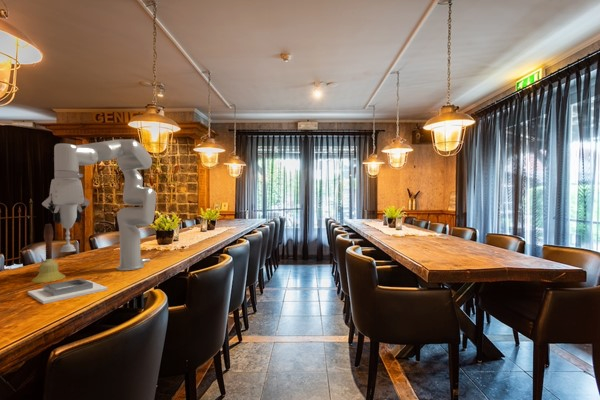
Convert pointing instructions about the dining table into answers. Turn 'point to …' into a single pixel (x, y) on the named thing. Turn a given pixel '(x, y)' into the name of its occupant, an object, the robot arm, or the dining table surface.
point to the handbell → (48, 261)
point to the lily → (41, 263)
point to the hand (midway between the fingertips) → (67, 222)
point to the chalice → (68, 223)
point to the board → (48, 298)
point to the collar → (54, 290)
